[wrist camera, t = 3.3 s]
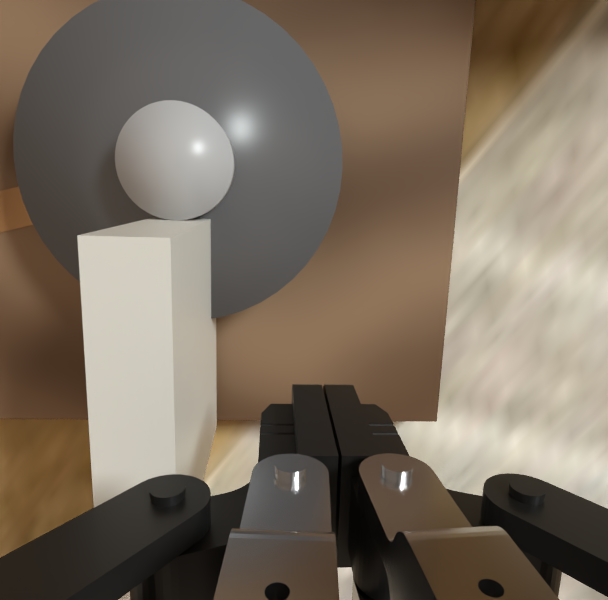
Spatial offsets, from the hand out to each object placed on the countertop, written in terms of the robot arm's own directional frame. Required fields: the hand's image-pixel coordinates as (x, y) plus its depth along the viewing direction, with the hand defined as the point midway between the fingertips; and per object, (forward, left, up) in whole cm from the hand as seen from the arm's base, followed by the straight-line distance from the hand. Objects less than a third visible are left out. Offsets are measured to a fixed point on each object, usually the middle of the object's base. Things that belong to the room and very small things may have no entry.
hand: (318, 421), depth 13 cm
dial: (-4, -4, -5) cm, 7 cm away
